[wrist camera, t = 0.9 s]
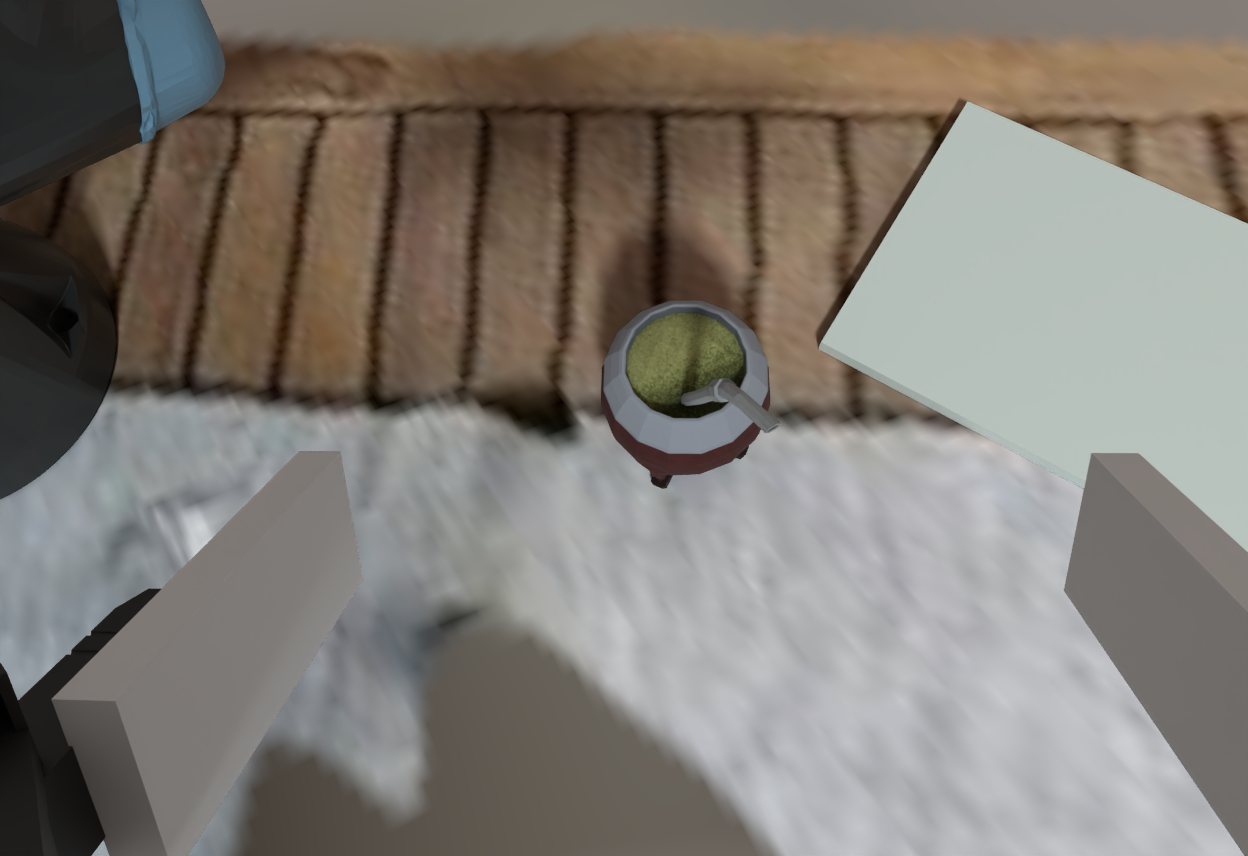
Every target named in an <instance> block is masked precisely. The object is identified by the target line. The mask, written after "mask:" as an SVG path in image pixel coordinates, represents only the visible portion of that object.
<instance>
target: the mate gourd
mask: <svg viewBox="0 0 1248 856" xmlns="http://www.w3.org/2000/svg"><path fill="white" fill-rule="evenodd" d="M601 406H602V408H603V411H604V413H605V416H606V418H607V421H608V423H609V426H610V428H611V431H612V433H613V436H614V437H615V439H616V440H617V441H618V442H619V443H620V444H621V445H622V446H623V447H624V448H625V449H626V450H627V451H628V452H629V453H630V454H631V455H632V456H633V458H634V459H635V460H636V461H637V462H638V463H640V464H641V465H642V466H644V467H645V468H647V469H648V470H649V471H650V473H651V475H652V479H651V482H652V483H653V485H655V486H657V487H660V488H662V489H663V488H667V486H668V484H669V482H670V480H671V478H672V476H673V475H690V474H701V473H704V472H706V471H709V470H711V469H714V468H717V467H719V466H722V465H724V464H727V463H730V462H732V461H733V460H734V459H735V458H738V459H741V458H743V457H744V455H746V452H747V450H748V447H749V445H750V444H751V443H752V442H753V441H754V440H755V439H756V437H757V436H758V434H759V432H760V430H761V429H762V430H763V431H764V432H765V433H769V432H771V431H773V430H775V429H776V428H778V427H779V426H780V425H781V423H780V422H779V421H777V420H776V419H775V418H774V417H773V416H772V415H771V414H770V413H768V412H767V411H768V409H769V406H770V388H769V369H768V365H767V358H766V356H765V354H764V352H763V350H762V348H761V346H760V344H759V342H758V340H757V338H756V335H755V333H754V332H753V331H752V330H751V329H750V328H749V327H748V326H747V325H745V324H744V323H743V322H742V321H741V320H740V319H739V318H737V317H736V316H735V315H734V314H733V313H732V312H731V311H728V310H726V309H723V308H720V307H717V306H715V305H712V304H709V303H706V302H704V301H668V302H665V303H662V304H660V305H657V306H654V307H652V308H649V309H646V310H644V311H641V312H640V313H639V314H638V315H636V316H635V317H634V318H633V319H632V320H631V321H630V322H629V323H627V324H626V325H625V326H624V327H623V328H622V329H621V330H620V331H618V333H617V335H616V337H615V339H614V341H613V343H612V345H611V347H610V349H609V351H608V353H607V355H606V357H605V360H604V365H603V367H602V386H601Z"/></svg>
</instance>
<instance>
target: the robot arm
mask: <svg viewBox="0 0 1248 856" xmlns="http://www.w3.org/2000/svg"><path fill="white" fill-rule="evenodd" d="M224 70H225V59H224V54H223V51H222V48H221V45H220V43H219V40H218V38H217V35H216V33H215V31H214V28H213V26H212V24H211V22H210V19H209V17H208V15H207V13H206V11H205V8H204V6H203V4H202V2H201V0H0V206H2V205H4V204H7V203H9V202H11V201H13V200H15V199H17V198H20V197H22V196H24V195H26V194H28V193H31V192H33V191H35V190H37V189H39V188H41V187H44V186H46V185H48V184H50V183H52V182H55V181H57V180H59V179H61V178H63V177H65V176H68V175H70V174H72V173H74V172H76V171H79V170H81V169H83V168H85V167H87V166H89V165H92V164H94V163H96V162H98V161H100V160H102V159H105V158H107V157H109V156H111V155H113V154H116V153H118V152H120V151H122V150H124V149H126V148H129V147H131V146H133V145H135V144H137V143H140V144H145V143H147V142H148V140H151V139H153V138H154V136H155V134H156V131H158V130H159V129H161V128H163V127H165V126H167V125H168V124H170V123H172V122H174V121H176V120H177V119H179V118H181V117H183V116H185V115H186V114H188V113H190V112H192V111H194V110H195V109H197V108H199V107H201V106H203V105H205V104H206V103H208V102H209V101H210V100H211V98H212V97H213V96H214V95H215V94H216V93H217V91H218V89H219V87H220V85H221V84H222V81H223V78H224ZM115 343H116V340H115V326H114V319H113V315H112V311H111V308H110V304H109V302H108V300H107V297H106V295H105V293H104V291H103V289H102V288H101V286H100V285H99V283H98V282H97V280H96V279H95V278H94V276H93V275H92V274H91V273H90V272H89V271H88V270H87V269H86V268H85V267H84V266H83V265H81V264H80V263H79V262H78V261H77V260H75V259H74V258H73V257H71V256H70V255H69V254H67V253H66V252H65V251H64V250H62V249H61V248H60V247H58V246H57V245H56V244H54V243H53V242H51V241H50V240H49V239H47V238H45V237H43V236H42V235H40V234H38V233H36V232H34V231H32V230H30V229H27V228H25V227H23V226H20V225H17V224H14V223H11V222H7V221H4V220H1V219H0V499H2V498H4V497H6V496H8V495H10V494H12V493H14V492H16V491H17V490H19V489H21V488H22V487H24V486H26V485H27V484H29V483H30V482H32V481H33V480H35V479H36V478H37V477H39V476H40V475H41V474H43V473H44V472H45V471H46V470H48V469H49V468H50V467H51V466H52V465H53V464H55V463H56V462H57V461H58V460H59V459H60V458H61V457H62V456H63V455H64V454H65V453H66V452H67V451H68V450H69V448H70V447H71V446H72V445H73V444H74V443H75V442H76V440H77V439H78V438H79V437H80V435H81V434H82V433H83V431H84V430H85V428H86V427H87V425H88V424H89V422H90V421H91V419H92V417H93V416H94V414H95V412H96V410H97V409H98V407H99V405H100V403H101V400H102V398H103V396H104V394H105V391H106V388H107V386H108V383H109V379H110V376H111V372H112V368H113V363H114V356H115ZM362 581H363V574H362V569H361V563H360V558H359V552H358V547H357V541H356V536H355V530H354V525H353V519H352V513H351V508H350V502H349V497H348V491H347V486H346V480H345V475H344V469H343V464H342V458H341V453H340V451H300V452H299V453H298V454H296V455H295V456H294V457H293V458H292V459H291V460H290V461H289V462H288V463H287V464H286V465H285V466H284V467H283V468H282V469H281V470H280V471H279V472H278V473H277V474H276V475H275V476H274V477H273V478H272V479H271V480H270V481H269V482H268V483H267V484H266V485H265V486H264V487H263V488H262V489H261V490H260V491H259V492H258V493H257V494H256V495H255V496H254V497H253V498H252V499H251V500H250V501H249V502H248V503H247V504H246V505H245V506H244V507H243V508H242V509H241V510H240V511H239V512H238V513H237V514H236V515H235V516H234V517H233V518H232V519H231V520H230V521H229V522H228V523H227V524H226V525H225V526H224V527H223V528H222V529H221V530H220V531H219V532H218V533H217V534H216V535H215V536H214V537H213V538H212V539H211V540H210V541H209V542H208V543H207V544H206V545H205V546H204V547H203V548H202V549H201V550H200V551H199V552H198V553H197V554H196V555H195V556H194V557H193V558H192V559H191V560H190V561H189V562H188V563H187V564H186V565H185V566H184V567H183V568H182V569H181V570H180V571H179V572H178V573H177V574H176V575H175V576H174V577H173V578H172V579H171V580H170V581H169V582H168V583H167V584H166V585H165V586H164V587H163V588H162V589H148V590H146V591H144V592H142V593H141V594H139V595H137V596H136V597H134V598H132V599H130V600H129V601H127V602H125V603H124V604H122V605H120V606H118V607H117V608H115V609H114V610H113V611H112V612H111V613H110V614H109V615H108V616H107V617H106V618H105V619H103V620H102V621H101V622H100V623H99V624H98V625H97V626H96V627H95V628H94V629H93V630H92V631H91V636H86V637H85V638H84V639H82V640H81V641H80V642H79V643H78V644H77V645H76V646H75V647H74V648H73V649H72V653H71V655H66V656H65V657H64V658H63V659H61V660H60V661H59V662H58V663H57V664H56V665H55V666H54V667H53V668H52V669H51V670H50V671H49V672H48V673H47V674H46V675H45V676H44V677H43V678H41V679H40V680H39V681H38V682H37V683H36V684H35V685H34V686H33V687H32V688H31V689H30V690H29V691H28V692H27V693H26V694H25V695H24V696H23V697H22V698H20V699H19V700H17V697H16V695H15V692H14V690H13V687H12V684H11V682H10V679H9V677H8V674H7V672H6V671H5V669H4V667H3V666H2V664H1V663H0V856H91V855H92V854H93V853H94V851H95V850H96V849H97V848H98V846H99V845H100V844H101V842H102V841H103V840H104V842H105V845H106V847H107V850H108V853H109V855H110V856H188V855H189V853H190V852H191V850H192V848H193V847H194V845H195V844H196V842H197V841H198V839H199V837H200V836H201V834H202V833H203V831H204V830H205V828H206V826H207V825H208V823H209V822H210V820H211V819H212V817H213V815H214V814H215V812H216V811H217V809H218V808H219V806H220V804H221V803H222V801H223V800H224V798H225V797H226V795H227V793H228V792H229V790H230V789H231V787H232V786H233V784H234V782H235V781H236V779H237V778H238V776H239V775H240V773H241V771H242V770H243V768H244V767H245V765H246V764H247V762H248V760H249V759H250V757H251V756H252V754H253V753H254V751H255V749H256V748H257V746H258V745H259V743H260V742H261V740H262V738H263V737H264V735H265V734H266V732H267V731H268V729H269V727H270V726H271V724H272V723H273V721H274V720H275V718H276V716H277V715H278V713H279V712H280V710H281V709H282V707H283V705H284V704H285V702H286V701H287V699H288V698H289V696H290V694H291V693H292V691H293V690H294V688H295V687H296V685H297V683H298V682H299V680H300V679H301V677H302V676H303V674H304V672H305V671H306V669H307V668H308V666H309V665H310V663H311V661H312V660H313V658H314V657H315V655H316V654H317V652H318V650H319V649H320V647H321V646H322V644H323V643H324V641H325V639H326V638H327V636H328V635H329V633H330V632H331V630H332V628H333V627H334V625H335V624H336V622H337V621H338V619H339V617H340V616H341V614H342V613H343V611H344V610H345V608H346V606H347V605H348V603H349V602H350V600H351V599H352V597H353V595H354V594H355V592H356V591H357V589H358V588H359V586H360V584H361V583H362ZM1064 591H1065V593H1066V594H1067V596H1068V597H1069V599H1070V600H1071V602H1072V603H1073V604H1074V606H1075V607H1076V609H1077V610H1078V612H1079V613H1080V615H1081V616H1082V618H1083V619H1084V621H1085V622H1086V624H1087V625H1088V626H1089V628H1090V629H1091V631H1092V632H1093V634H1094V635H1095V637H1096V638H1097V640H1098V641H1099V643H1100V644H1101V646H1102V647H1103V648H1104V650H1105V651H1106V653H1107V654H1108V656H1109V657H1110V659H1111V660H1112V662H1113V663H1114V665H1115V666H1116V668H1117V669H1118V671H1119V672H1120V673H1121V675H1122V676H1123V678H1124V679H1125V681H1126V682H1127V684H1128V685H1129V687H1130V688H1131V690H1132V691H1133V693H1134V694H1135V695H1136V697H1137V698H1138V700H1139V701H1140V703H1141V704H1142V706H1143V707H1144V709H1145V710H1146V712H1147V713H1148V715H1149V716H1150V717H1151V719H1152V720H1153V722H1154V723H1155V725H1156V726H1157V728H1158V729H1159V731H1160V732H1161V734H1162V735H1163V737H1164V738H1165V740H1166V741H1167V742H1168V744H1169V745H1170V747H1171V748H1172V750H1173V751H1174V753H1175V754H1176V756H1177V757H1178V759H1179V760H1180V762H1181V763H1182V764H1183V766H1184V767H1185V769H1186V770H1187V772H1188V773H1189V775H1190V776H1191V778H1192V779H1193V781H1194V782H1195V784H1196V785H1197V787H1198V788H1199V789H1200V791H1201V792H1202V794H1203V795H1204V797H1205V798H1206V800H1207V801H1208V803H1209V804H1210V806H1211V807H1212V809H1213V810H1214V811H1215V813H1216V814H1217V816H1218V817H1219V819H1220V820H1221V822H1222V823H1223V825H1224V826H1225V828H1226V829H1227V831H1228V832H1229V833H1230V835H1231V836H1232V838H1233V839H1234V841H1235V842H1236V844H1237V845H1238V847H1239V848H1240V850H1241V851H1242V853H1243V854H1244V856H1248V552H1247V551H1246V550H1245V549H1244V548H1243V547H1242V546H1240V545H1239V544H1238V543H1237V542H1236V541H1235V540H1234V539H1233V538H1232V537H1231V536H1229V535H1228V534H1227V533H1226V532H1225V531H1224V530H1223V529H1222V528H1221V527H1219V526H1218V525H1217V524H1216V523H1215V522H1214V521H1213V520H1212V519H1211V518H1210V517H1208V516H1207V515H1206V514H1205V513H1204V512H1203V511H1202V510H1201V509H1200V508H1199V507H1197V506H1196V505H1195V504H1194V503H1193V502H1192V501H1191V500H1190V499H1189V498H1188V497H1186V496H1185V495H1184V494H1183V493H1182V492H1181V491H1180V490H1179V489H1178V488H1177V487H1175V486H1174V485H1173V484H1172V483H1171V482H1170V481H1169V480H1168V479H1167V478H1165V477H1164V476H1163V475H1162V474H1161V473H1160V472H1159V471H1158V470H1157V469H1156V468H1154V467H1153V466H1152V465H1151V464H1150V463H1149V462H1148V461H1147V460H1146V459H1145V458H1143V457H1142V456H1141V455H1140V454H1139V453H1091V457H1090V462H1089V467H1088V472H1087V477H1086V482H1085V487H1084V492H1083V497H1082V502H1081V507H1080V512H1079V517H1078V522H1077V527H1076V532H1075V537H1074V542H1073V548H1072V553H1071V558H1070V563H1069V568H1068V573H1067V578H1066V583H1065V588H1064Z"/></svg>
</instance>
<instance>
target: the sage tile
mask: <svg viewBox="0 0 1248 856" xmlns="http://www.w3.org/2000/svg"><path fill="white" fill-rule="evenodd" d="M819 350H821V351H823V352H825V353H827V354H829V355H831V356H832V357H834V358H836V359H838V360H840V361H842V362H844V363H846V364H848V365H850V366H851V367H853V368H855V369H857V370H859V371H861V372H863V373H865V374H867V375H869V376H870V377H872V378H874V379H876V380H878V381H880V382H882V383H884V384H886V385H888V386H889V387H891V388H893V389H895V390H897V391H899V392H901V393H903V394H905V395H907V396H908V397H910V398H912V399H914V400H916V401H918V402H920V403H922V404H924V405H926V406H927V407H929V408H931V409H933V410H935V411H937V412H939V413H941V414H943V415H945V416H946V417H948V418H950V419H952V420H954V421H956V422H958V423H960V424H962V425H964V426H965V427H967V428H969V429H971V430H973V431H975V432H977V433H979V434H981V435H983V436H984V437H986V438H988V439H990V440H992V441H994V442H996V443H998V444H1000V445H1002V446H1003V447H1005V448H1007V449H1009V450H1011V451H1013V452H1015V453H1017V454H1019V455H1021V456H1022V457H1024V458H1026V459H1028V460H1030V461H1032V462H1034V463H1036V464H1038V465H1040V466H1041V467H1043V468H1045V469H1047V470H1049V471H1051V472H1053V473H1055V474H1057V475H1059V476H1060V477H1062V478H1064V479H1066V480H1068V481H1070V482H1072V483H1074V484H1076V485H1078V486H1079V487H1081V488H1083V489H1084V487H1085V482H1086V477H1087V472H1088V467H1089V462H1090V457H1091V453H1139V454H1140V455H1141V456H1142V457H1143V458H1145V459H1146V460H1147V461H1148V462H1149V463H1150V464H1151V465H1152V466H1153V467H1154V468H1156V469H1157V470H1158V471H1159V472H1160V473H1161V474H1162V475H1163V476H1164V477H1165V478H1167V479H1168V480H1169V481H1170V482H1171V483H1172V484H1173V485H1174V486H1175V487H1177V488H1178V489H1179V490H1180V491H1181V492H1182V493H1183V494H1184V495H1185V496H1186V497H1188V498H1189V499H1190V500H1191V501H1192V502H1193V503H1194V504H1195V505H1196V506H1197V507H1199V508H1200V509H1201V510H1202V511H1203V512H1204V513H1205V514H1206V515H1207V516H1208V517H1210V518H1211V519H1212V520H1213V521H1214V522H1215V523H1216V524H1217V525H1218V526H1219V527H1221V528H1222V529H1223V530H1224V531H1225V532H1226V533H1227V534H1228V535H1229V536H1231V537H1232V538H1233V539H1234V540H1235V541H1236V542H1237V543H1238V544H1239V545H1240V546H1242V547H1243V548H1244V549H1245V550H1246V551H1247V552H1248V224H1247V223H1245V222H1242V221H1240V220H1238V219H1236V218H1233V217H1231V216H1229V215H1226V214H1224V213H1222V212H1220V211H1217V210H1215V209H1213V208H1210V207H1208V206H1206V205H1204V204H1201V203H1199V202H1197V201H1194V200H1192V199H1190V198H1188V197H1185V196H1183V195H1181V194H1178V193H1176V192H1174V191H1172V190H1169V189H1167V188H1165V187H1162V186H1160V185H1158V184H1156V183H1153V182H1151V181H1149V180H1146V179H1144V178H1142V177H1140V176H1137V175H1135V174H1133V173H1130V172H1128V171H1126V170H1124V169H1121V168H1119V167H1117V166H1114V165H1112V164H1110V163H1108V162H1105V161H1103V160H1101V159H1098V158H1096V157H1094V156H1092V155H1089V154H1087V153H1085V152H1082V151H1080V150H1078V149H1076V148H1073V147H1071V146H1069V145H1066V144H1064V143H1062V142H1060V141H1057V140H1055V139H1053V138H1050V137H1048V136H1046V135H1044V134H1041V133H1039V132H1037V131H1034V130H1032V129H1030V128H1028V127H1025V126H1023V125H1021V124H1018V123H1016V122H1014V121H1011V120H1009V119H1007V118H1005V117H1002V116H1000V115H998V114H995V113H993V112H991V111H989V110H986V109H984V108H982V107H979V106H977V105H975V104H973V103H970V102H967V103H966V105H965V107H964V108H963V110H962V111H961V113H960V115H959V116H958V118H957V120H956V121H955V123H954V125H953V126H952V128H951V130H950V131H949V133H948V134H947V136H946V138H945V139H944V141H943V143H942V144H941V146H940V148H939V149H938V151H937V153H936V154H935V156H934V157H933V159H932V161H931V162H930V164H929V166H928V167H927V169H926V171H925V172H924V174H923V175H922V177H921V179H920V180H919V182H918V184H917V185H916V187H915V189H914V190H913V192H912V194H911V195H910V197H909V198H908V200H907V202H906V203H905V205H904V207H903V208H902V210H901V212H900V213H899V215H898V217H897V218H896V220H895V221H894V223H893V225H892V226H891V228H890V230H889V231H888V233H887V235H886V236H885V238H884V240H883V241H882V243H881V244H880V246H879V248H878V249H877V251H876V253H875V254H874V256H873V258H872V259H871V261H870V263H869V264H868V266H867V267H866V269H865V271H864V272H863V274H862V276H861V277H860V279H859V281H858V282H857V284H856V285H855V287H854V289H853V290H852V292H851V294H850V295H849V297H848V299H847V300H846V302H845V304H844V305H843V307H842V308H841V310H840V312H839V313H838V315H837V317H836V318H835V320H834V322H833V323H832V325H831V327H830V328H829V330H828V331H827V333H826V335H825V336H824V338H823V340H822V341H821V343H820V346H819Z"/></svg>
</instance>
